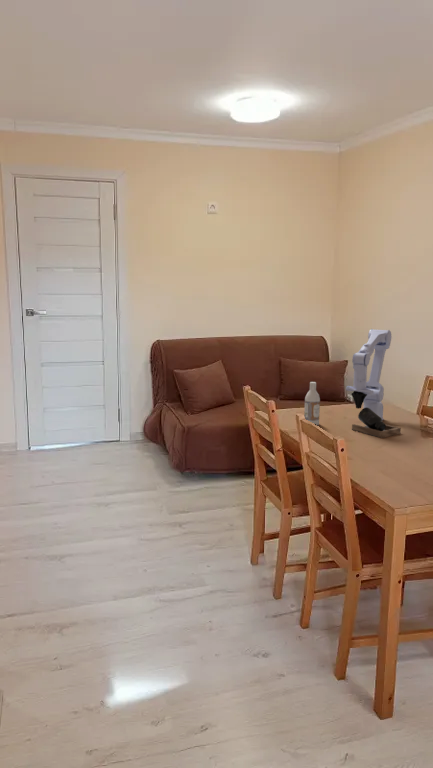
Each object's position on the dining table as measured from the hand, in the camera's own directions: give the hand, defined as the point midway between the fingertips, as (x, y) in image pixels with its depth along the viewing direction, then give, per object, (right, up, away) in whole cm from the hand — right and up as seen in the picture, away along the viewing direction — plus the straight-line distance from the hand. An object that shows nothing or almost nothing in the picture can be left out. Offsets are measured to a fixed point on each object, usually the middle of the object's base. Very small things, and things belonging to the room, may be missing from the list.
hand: (358, 408), depth 269 cm
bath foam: (-21, -8, +6) cm, 23 cm away
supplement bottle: (+1, -2, -3) cm, 4 cm away
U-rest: (+6, -10, -6) cm, 13 cm away
